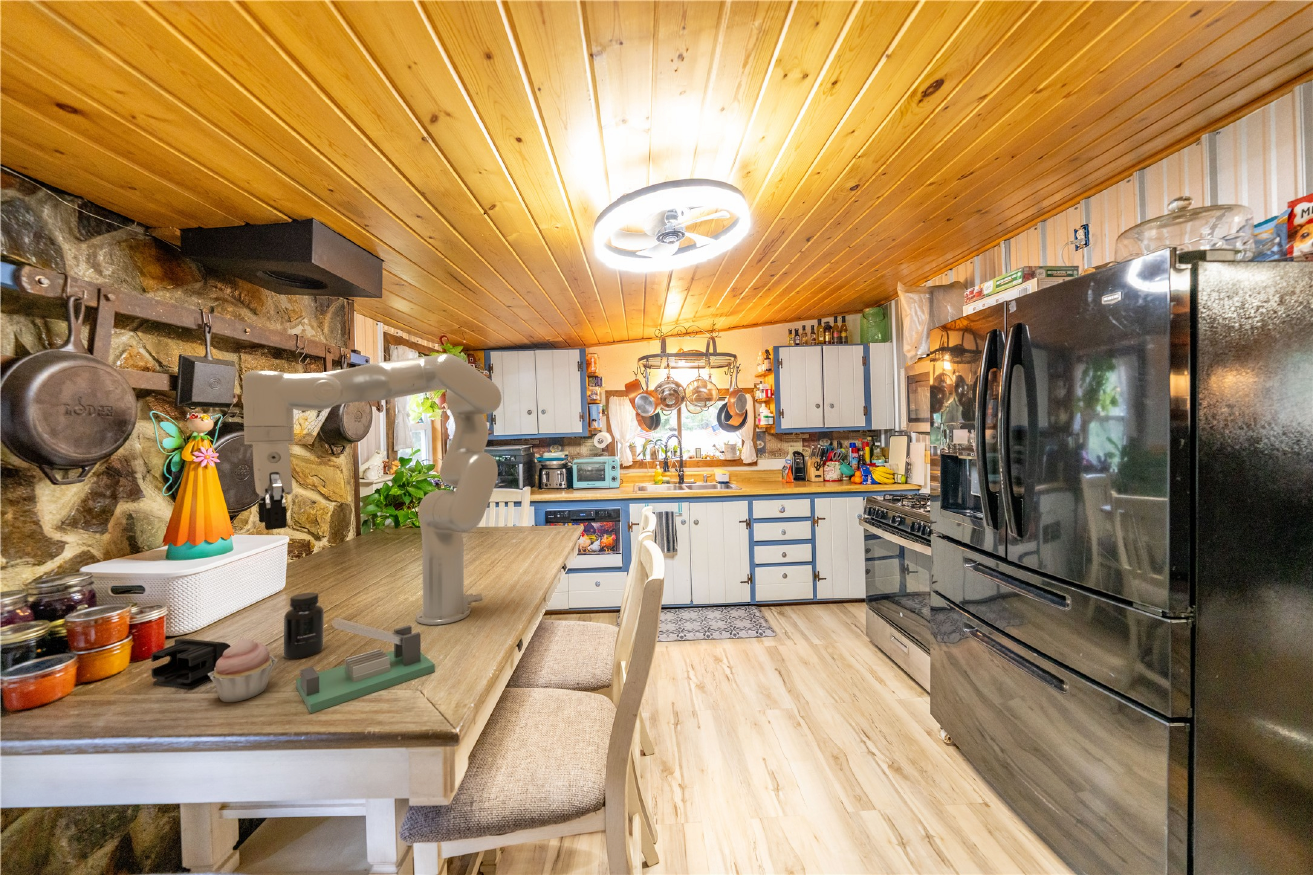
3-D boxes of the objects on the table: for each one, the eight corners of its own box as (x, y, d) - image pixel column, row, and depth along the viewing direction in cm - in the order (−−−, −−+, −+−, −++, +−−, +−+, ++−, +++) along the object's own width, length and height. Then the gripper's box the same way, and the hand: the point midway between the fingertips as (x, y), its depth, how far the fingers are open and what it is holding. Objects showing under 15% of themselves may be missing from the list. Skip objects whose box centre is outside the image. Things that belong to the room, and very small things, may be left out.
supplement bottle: (303, 661, 100) (302, 602, 100) (275, 658, 101) (274, 599, 101) (331, 647, 107) (331, 591, 106) (305, 644, 108) (304, 589, 108)
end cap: (233, 671, 96) (233, 636, 96) (193, 690, 89) (192, 653, 89) (192, 667, 98) (192, 632, 98) (149, 685, 91) (149, 648, 91)
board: (412, 652, 104) (412, 619, 104) (434, 671, 96) (434, 635, 95) (296, 686, 90) (295, 648, 90) (310, 713, 81) (310, 671, 81)
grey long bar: (406, 644, 99) (410, 635, 99) (411, 648, 97) (415, 640, 97) (330, 624, 90) (335, 616, 90) (334, 629, 88) (340, 620, 88)
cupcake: (259, 676, 94) (258, 623, 94) (287, 687, 90) (287, 632, 90) (196, 700, 85) (196, 642, 85) (225, 713, 81) (224, 652, 81)
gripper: (301, 436, 91) (304, 528, 91) (287, 435, 104) (289, 516, 104) (249, 437, 86) (252, 535, 86) (240, 436, 98) (243, 521, 99)
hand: (272, 524), depth 95 cm, fingers open, 9 cm apart
